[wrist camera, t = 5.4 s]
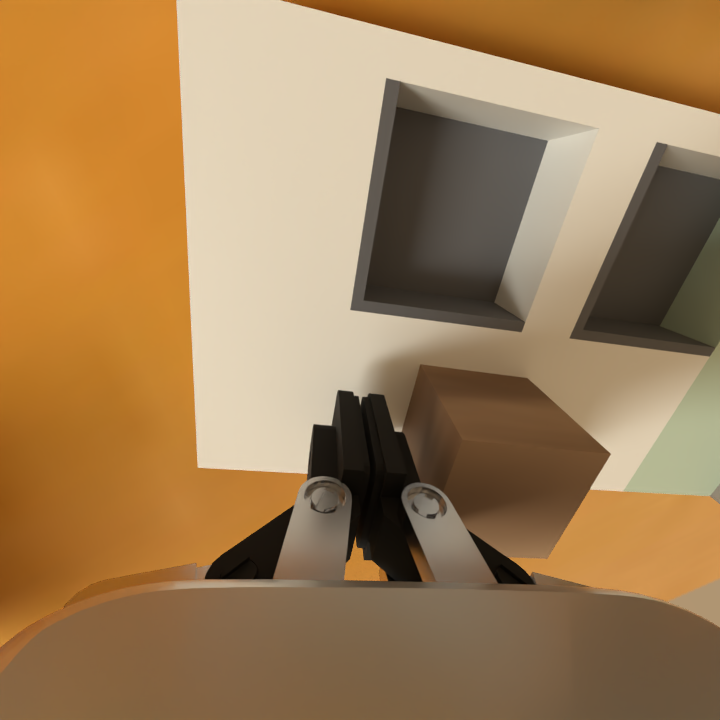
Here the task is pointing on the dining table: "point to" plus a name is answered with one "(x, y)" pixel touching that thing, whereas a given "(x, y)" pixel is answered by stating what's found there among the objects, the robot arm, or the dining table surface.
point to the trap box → (441, 239)
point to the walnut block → (501, 456)
